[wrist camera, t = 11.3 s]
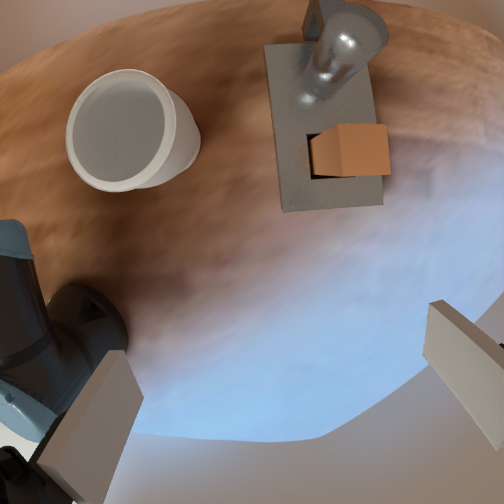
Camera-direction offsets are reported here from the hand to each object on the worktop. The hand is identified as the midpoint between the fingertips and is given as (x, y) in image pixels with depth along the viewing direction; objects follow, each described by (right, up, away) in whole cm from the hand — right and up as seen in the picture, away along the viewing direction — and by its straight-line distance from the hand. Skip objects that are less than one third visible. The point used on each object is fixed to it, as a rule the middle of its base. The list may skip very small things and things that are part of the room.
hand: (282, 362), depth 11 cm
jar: (-12, +18, +24) cm, 32 cm away
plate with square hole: (+7, +21, +22) cm, 31 cm away
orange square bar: (+8, +16, +24) cm, 29 cm away
